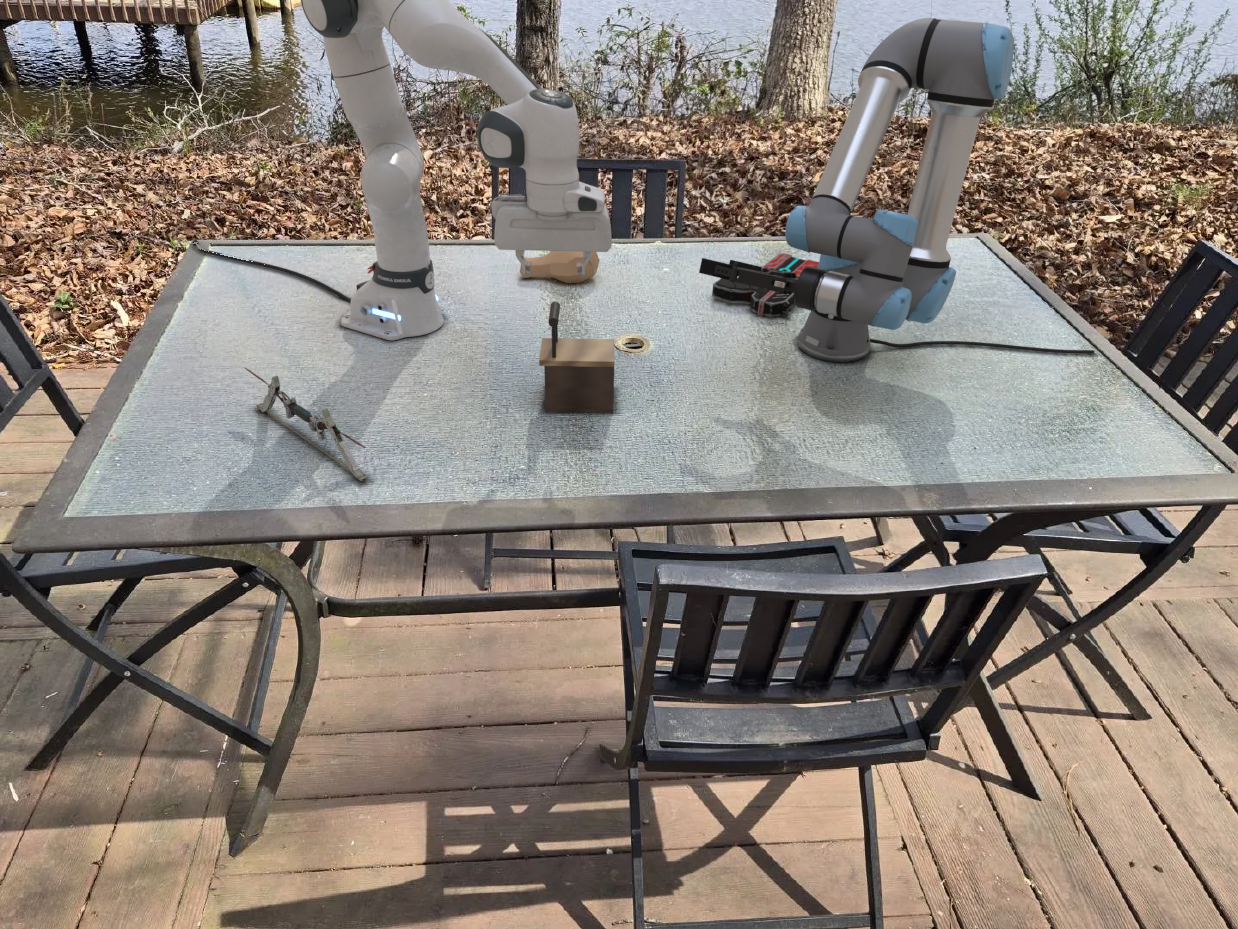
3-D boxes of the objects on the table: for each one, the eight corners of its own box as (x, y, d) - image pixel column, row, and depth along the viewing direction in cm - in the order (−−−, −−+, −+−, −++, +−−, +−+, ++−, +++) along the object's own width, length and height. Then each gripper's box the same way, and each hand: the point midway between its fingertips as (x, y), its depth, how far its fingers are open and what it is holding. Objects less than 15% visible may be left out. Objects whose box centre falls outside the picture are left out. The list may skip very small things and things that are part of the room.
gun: (708, 284, 207) (784, 305, 199) (760, 245, 229) (831, 262, 221) (706, 302, 209) (781, 323, 201) (758, 261, 231) (828, 278, 223)
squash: (601, 287, 216) (596, 255, 210) (521, 294, 218) (514, 262, 211) (602, 264, 224) (597, 232, 218) (524, 271, 225) (518, 240, 219)
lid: (539, 365, 159) (537, 320, 154) (542, 343, 167) (541, 298, 162) (614, 367, 160) (615, 321, 155) (614, 344, 168) (615, 300, 162)
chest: (545, 412, 165) (544, 366, 160) (548, 387, 173) (547, 343, 167) (613, 413, 165) (614, 367, 160) (613, 389, 173) (614, 344, 168)
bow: (377, 484, 144) (369, 432, 138) (368, 488, 143) (359, 436, 137) (258, 401, 165) (247, 353, 160) (249, 404, 164) (237, 356, 158)
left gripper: (488, 199, 144) (493, 279, 152) (612, 202, 144) (611, 281, 152) (492, 187, 149) (496, 265, 157) (612, 190, 150) (611, 268, 157)
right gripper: (794, 313, 149) (683, 285, 158) (834, 309, 170) (735, 285, 179) (805, 269, 146) (692, 243, 155) (845, 271, 168) (744, 248, 177)
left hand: (554, 273), depth 155 cm, fingers open, 8 cm apart
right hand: (715, 265), depth 167 cm, fingers open, 13 cm apart
